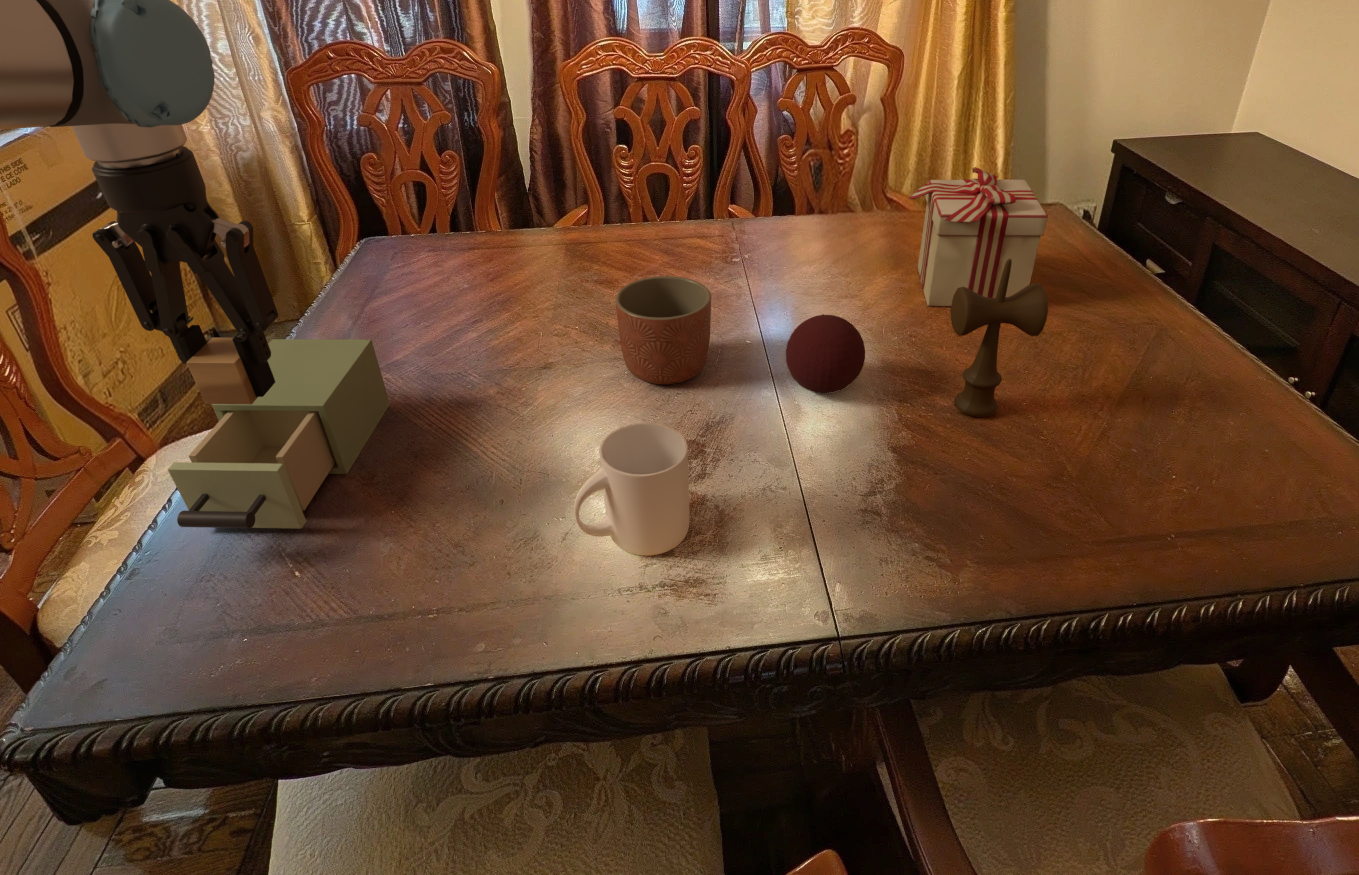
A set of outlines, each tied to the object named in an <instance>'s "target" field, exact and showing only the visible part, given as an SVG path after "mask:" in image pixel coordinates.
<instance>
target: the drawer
mask: <svg viewBox="0 0 1359 875" xmlns="http://www.w3.org/2000/svg"><path fill="white" fill-rule="evenodd" d="M188 458H189V460H190V461H189V462H186V461H185V462H181V461H180V462H179V461H174V462H172V463H171V465H170V466H169V467H168V468H167V472H168V473H169V475H170V478H171V479H172V481H173V483H174V485H175V487H176V489H177V491H178V492H179V495H180V497H181V499H182V501H183V503H184V504H185V506H186V508H187V510H181V511H180V512H179V513H178V514H177V519H176V521H177V525H178V527H181V528H211V529H212V528H214V529H217V528H219V529H296V530H297V529H303V527H304V526H305V524H306V522H307V520H306V517H305V514H304V512H303V511H305V510H306V509H307V507H309V506H308V505H309V504H310V503H311V501H312V500H313V498H314V497H315V495H316V493H317V492H318V490H319V488H320V487H321V486H322V484H323V483H324V481H325V479H326V478H327V477H328V475H329V474H328V473H329V471H330V470H331V468H332V467H333V465H334V464H335V462H336V460H335V457H334V454H333V451H332V448H331V445H330V443H329V440H328V437H327V434H326V431H325V429H324V426H323V423H322V420H321V417H320V414H319V411H228V412H227V413H226V414H225V415H224V417H223V418H222V419H221V420H220V421H219V420H218V422H217V423H216V424H215V425H214V426H213V428H212V429H211V430H210V431H209V432H208V433H207V434H206V436H204V438H203V439H201V441H200V442H199V443H198V445H197V446H195V448H194V449H193V450H192V451H191V452H190V453H189V454H188Z"/></svg>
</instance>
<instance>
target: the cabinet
mask: <svg viewBox="0 0 1359 875" xmlns="http://www.w3.org/2000/svg"><path fill="white" fill-rule="evenodd" d="M268 345H269V348H270V350H271V357H270V358H269V359H268V360H267V361H268V363H269V366H270V368H271V371H272V374H273V376H274V379H275V381H276V382H275V383H274V385H273V386H272V387H271V388H270V389H269V390H268V392H267V393H266V394H265V395H264V396H263V397H258V398H257V399H256V400H255V401H254V403H253V404H211V407H212V409H213V411H214V413H215V415H216V418H217V421H218V422H219V421H220V420H221V419H222V418H223V417H224V415H225V414H226V413H227V412H228V411H319V414H320V417H321V420H322V423H323V426H324V429H325V431H326V434H327V437H328V440H329V443H330V445H331V448H332V451H333V454H334V457H335V460H336V462H335V464H334V465H333V467H332V468H331V470H330V471H329V473H328V475H348V474H349V472H350V470H351V468H352V467H353V465H354V463H355V462H356V461H357V459H358V457H359V455H360V454H361V452H362V451H363V449H364V447H365V446H366V444H367V442H368V441H369V439H370V438H371V436H372V434H373V433H374V432H375V429H376V428H377V426H378V425H379V423H380V421H381V420H382V418H383V416H384V415H385V413H386V412H387V410H388V409H389V406H390V405H391V402H390V399H389V395H388V392H387V388H386V384H385V382H384V378H383V375H382V371H381V368H380V364H379V360H378V357H377V354H376V350H375V347H374V343H373V341H372V339H355V338H354V339H353V338H352V339H351V338H350V339H347V338H345V339H340V338H339V339H337V338H336V339H335V338H334V339H331V338H330V339H329V338H328V339H327V338H326V339H324V338H323V339H321V338H319V339H318V338H314V339H313V338H310V339H309V338H307V339H306V338H303V339H302V338H298V339H297V338H272V339H271V341H270V342H268Z"/></svg>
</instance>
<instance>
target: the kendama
mask: <svg viewBox="0 0 1359 875" xmlns="http://www.w3.org/2000/svg"><path fill="white" fill-rule="evenodd" d="M1011 264H1012V261H1011V259H1008V260H1007V261H1006V263H1005V266H1004V270H1003V273H1002V277H1001V280H1000V284H999V288H998V291H997V295H996V298H988V297H984V296H981V295H979V294H977V293H975V292H974V291H972V290H970V289H968V288H966V287H960V288H957V290H956V292H955V294H954V296H953V300H952V305H951V307H950V321H951V327H952V329H953V332H954V333H955V334H956V335H957V336H959V337H962V336H966V335H969V334H971V333H973V332H974V331H977V330H978V329H980V328H982V327H984V326H986V329H985V331H984V335H983V338H982V340H981V343H980V346H979V348H978V351H977V353H976V356H975V358H974V360H973V362H972V364H971V365H970V366H969V367H967V368H965V369H963V371H962V373H961V374H962V379H963V380H964V387H963V390H962V391H960V392H959V393H957V394H956V396H955V397H954V399H953V401H954V406H955V407H956V409H957V410H958V411H960V412H961V413H963V414H964V415H968V416H971V417H979V418H983V417H988V416H991V415H993V414H996V412H997V410H998V408H999V405H998V401H997V400H996V398H995V391H996V388H997V387H998V386H1000V385H1001V382H1002V381H1003V378H1002V375H1001V373H1000V372H999V371H998V349H999V339H1000V332H1001V331H1000V330H1001V325H1002V324H1006V325H1008V324H1009V325H1012V326H1014V327H1015V328H1017V329H1019V330H1021V331H1022V332H1023V333H1024V334H1027V335H1028V336H1030V337H1038V336H1039V335H1041V333H1042V332H1043V330H1044V329H1045V326H1046V323H1047V321H1048V320H1047V319H1048V314H1049V300H1048V295H1047V292H1046V290H1045V288H1044V286H1043V285H1042V284H1040V283H1039V282H1034V283H1030V285H1028V286H1026V287H1025V288H1023V289H1022V290H1020V291H1019V292H1017V293H1015V294H1014V295H1012V296H1009V297H1006V292H1007V287H1008V282H1009V277H1010V271H1011Z"/></svg>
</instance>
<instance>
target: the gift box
mask: <svg viewBox="0 0 1359 875" xmlns="http://www.w3.org/2000/svg"><path fill="white" fill-rule="evenodd" d="M971 170H972V171H971V172H972V173H974V174H975V173H976V174H977V178H971V179H970V178H969V179H928V180H927V183H926V184H924V185H922V186H921V187H920V188H918V189H917V190H916V191H915V192H914V193H913V194H912V195H911V196H909V197H908V198H907V200H916V199H918V198H920V197H925V198H924V199H925V201H926V206H925V213H924V219H923V227H922V235H921V241H920V248H919V254H918V262H917V271H918V275H919V282H920V284H921V286H922V287H921V288H922V292H923V296H924V300H925V303H926V306H927V307H942V308H943V307H950V308H951V305H952V300H953V296H954V294H955V292H956V290H957V288H960V287H966V288H968V289H970V290H972V291H974V292H975V293H977V294H979V295H981V296H984V297H988V298H996V295H997V291H998V288H999V284H1000V280H1001V277H1002V273H1003V270H1004V266H1005V263H1006V261H1007V260H1008V259H1011V261H1012V264H1011V271H1010V277H1009V282H1008V287H1007V292H1006V297H1009V296H1012V295H1014V294H1015V293H1017V292H1019V291H1020V290H1022V289H1023V288H1025V287H1026V286H1028V285H1030V284H1031V279H1032V275H1033V272H1034V268H1035V262H1036V259H1037V254H1038V250H1039V246H1040V241H1041V237H1043V236H1045V231H1046V228H1047V223H1048V218H1049V215H1048V213H1047V212H1046V210H1045V209H1044V207H1043V206H1042V204H1041V203H1040V201H1039V199H1038V198H1037V196H1036V195H1035V193H1034V191H1033V190H1032V189H1031V187H1030V185H1029V184H1028V183H1029V182H1027V181H1026V179H997V178H998V176H997V175H996V174H993V173H990V172H988V171H985V170H983V169H981V168H979V167H976V166H974V167H972V169H971Z"/></svg>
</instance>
